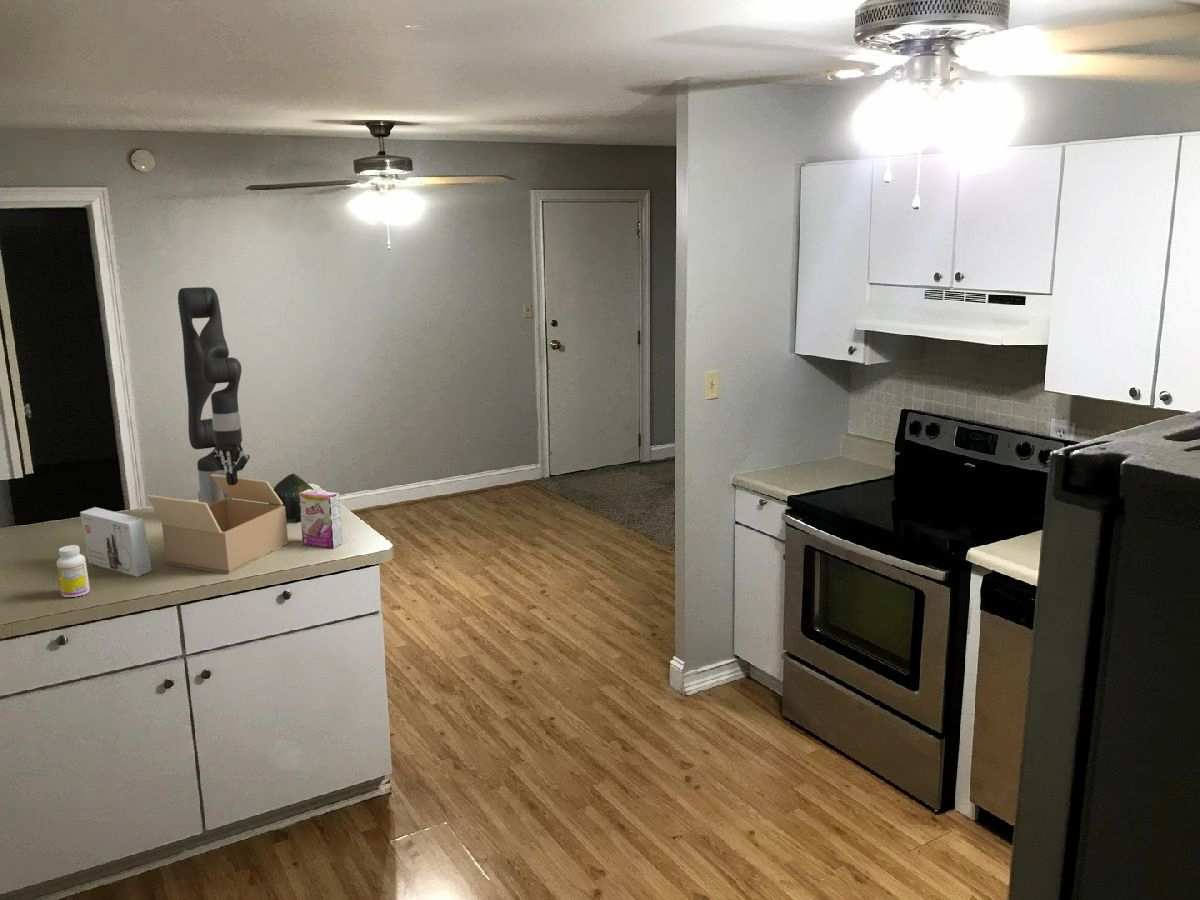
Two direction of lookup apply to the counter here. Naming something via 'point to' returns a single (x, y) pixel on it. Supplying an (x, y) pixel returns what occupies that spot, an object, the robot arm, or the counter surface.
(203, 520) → the front flap
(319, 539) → the candy bar box
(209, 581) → the counter surface
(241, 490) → the back flap
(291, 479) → the squash
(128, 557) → the skincare box
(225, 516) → the carton
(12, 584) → the counter surface
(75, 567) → the supplement bottle
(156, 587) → the counter surface
